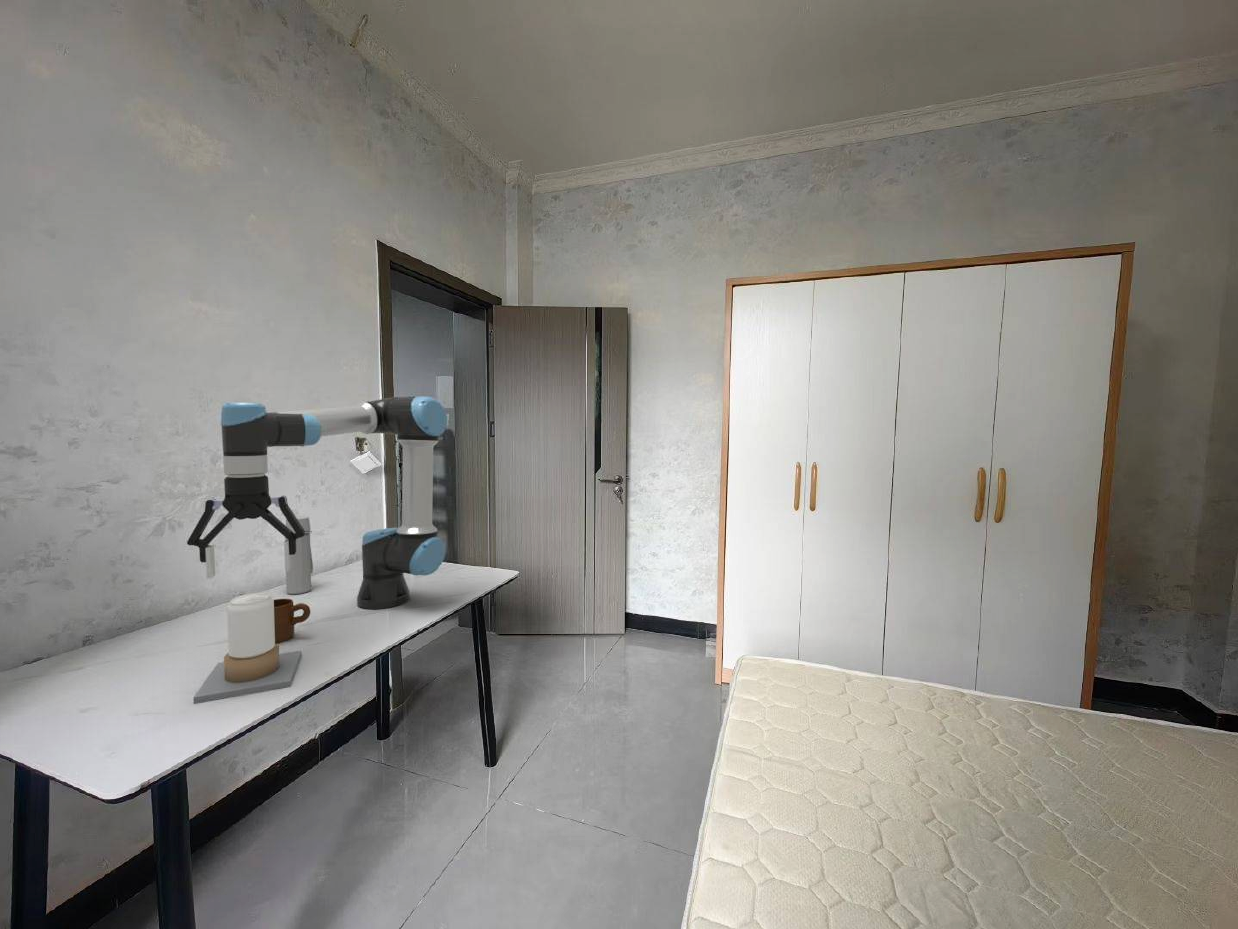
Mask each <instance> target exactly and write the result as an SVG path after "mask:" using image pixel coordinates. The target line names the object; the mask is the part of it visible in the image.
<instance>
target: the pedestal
mask: <svg viewBox="0 0 1238 929" xmlns="http://www.w3.org/2000/svg"><path fill="white" fill-rule="evenodd" d="M301 658H302V650H296V651H289V652H284V653H283V652H282V653H280V647H279V644H278V643H275V646H274V647H273V648H272V649H271V650H269V651H268V652H266V653H264V654H262V655H259V656H256V657H252V658H234V657H231V656H230V655H229V652H228V653H226V654H225V655H224V656H223V661H222V662H217V664H216V665H215V666H214V668H213V669H212V670H211V672H210V674H209V675H208V676H207V677H206V679H205V680H204V681H203V683H202V685H201V687H200V688H198V691H197V692H196V693H195V695H194V696H193V704H198V703H204V702H209V701H210V702H211V701H216V700H221V699H225V698H231V697H238V696H244V695H249V694H255V693H261V692H266V691H272V690H273V691H274V690H277V689H283V688H289V687H291V685H292V683H293V680H294V678H295V675H296V673H297V672H296V671H297V669H298V666H299V664H300V661H301Z"/></svg>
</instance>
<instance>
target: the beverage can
mask: <svg viewBox="0 0 1238 929" xmlns="http://www.w3.org/2000/svg"><path fill="white" fill-rule="evenodd" d="M274 600H275V599H274V598H273V597H272V594H271V593H267V592H254V593H253V592H252V593H247V594H243V595H239V596H236V597H233V598H231V599H230V600H229V604H228V605H227V608H226V611H227V612H226V614H227V643H228V644H227V646H228V647H227V648H228V653H229V655H230V656H231V657H234V658H252V657H256V656H259V655H262V654H264V653H266V652H268V651H269V650H271V649H272V648H273V647H274V646H275V644H276V643H275V626H274Z"/></svg>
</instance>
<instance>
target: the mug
mask: <svg viewBox="0 0 1238 929" xmlns="http://www.w3.org/2000/svg"><path fill="white" fill-rule="evenodd" d="M273 600H274V626H275V644H279V643H280V644H281V643H283V642H286V641H288V640H291V639H292V638H293V637H294V635H295V626H296V624H300V623H301V624H302V623H303V622H306V621H307V620H308V619H309V617H310V615H311V613H312V612H311V608H310V606H309V605H308V604H306V603H303V602H302V603H301V602H300V603H296V604H294V600H293V599H291V598H278V599H273ZM300 610H302V612H303V613H302V615H298V616H295V612H297V611H300Z"/></svg>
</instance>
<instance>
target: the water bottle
mask: <svg viewBox="0 0 1238 929" xmlns="http://www.w3.org/2000/svg"><path fill="white" fill-rule="evenodd" d="M295 517H296V518H297V520H298V521H299V523H300V524H301V526H302V527H303V529H304V530H305V535H304V536H303V537H300V538H298V539H296V553H295V554H294V555H291V569H290V571H285V578H286V579H285V582H286V587H285V588H286V593H287V594H289V595H301V594H305V593H308V592H310V591H311V589H312V574H313V570H314V564H313V555H312V548H311V534H312V533H313V531H311V523H310V517H309V516H306V515H302V516H301V515H299V516H296V515H295ZM285 526H287V527H288V528H289V529H290V530H291V531H292V532H293V533H296V532H295V531H294V529H293V528H292V526H291V525H290V523H289V522H288V520H287V519H286V518H285ZM286 539H287V538H286V537H285V536H284V541H285V540H286Z"/></svg>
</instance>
